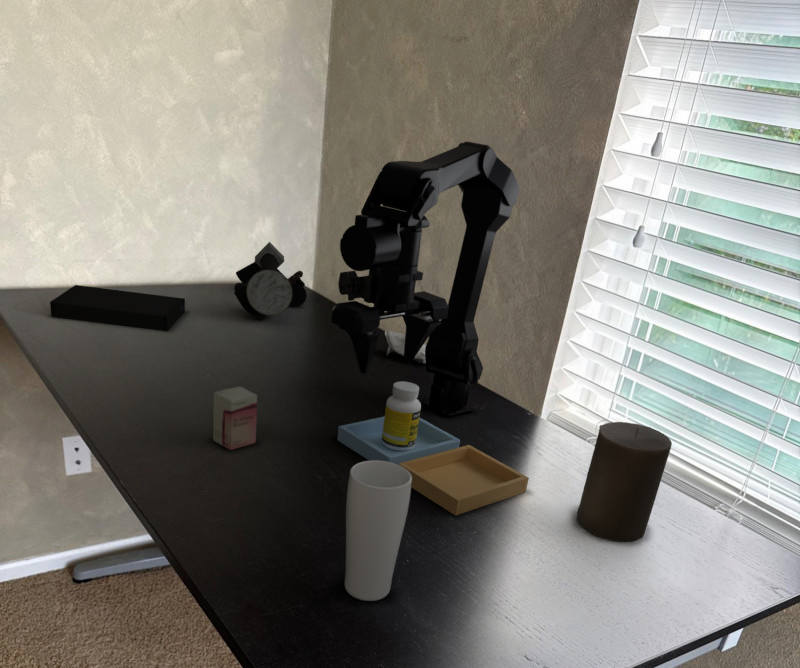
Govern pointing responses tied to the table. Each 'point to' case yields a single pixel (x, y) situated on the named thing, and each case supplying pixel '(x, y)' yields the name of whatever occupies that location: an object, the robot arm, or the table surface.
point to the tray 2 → (464, 479)
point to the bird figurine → (402, 345)
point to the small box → (234, 417)
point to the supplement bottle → (401, 417)
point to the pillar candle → (623, 480)
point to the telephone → (268, 285)
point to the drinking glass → (374, 526)
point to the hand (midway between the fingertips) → (385, 368)
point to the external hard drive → (118, 307)
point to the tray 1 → (369, 445)
